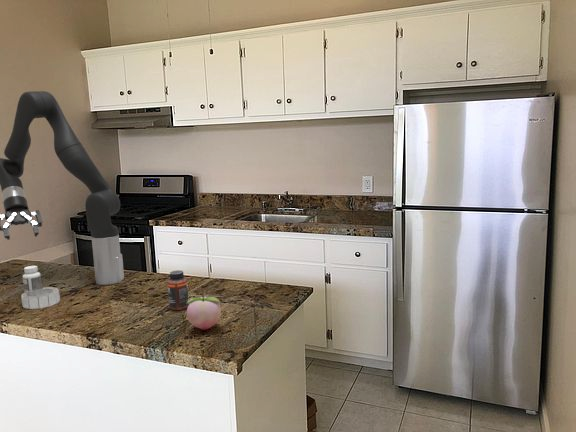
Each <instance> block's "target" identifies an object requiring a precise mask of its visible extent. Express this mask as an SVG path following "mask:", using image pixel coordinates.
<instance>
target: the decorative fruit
mask: <svg viewBox="0 0 576 432" xmlns="http://www.w3.org/2000/svg"><path fill="white" fill-rule="evenodd" d="M187 303H189V306H188V307H187V308H186V318H187V321H188V322H189V323H190V324H191V325H192V326H193V327H196V328H198V329H200V330H208V329H210V328H212V327H213V326H215V325H216V324H217V323H218V322H220V319H221V316H222V309H221V305H220V304H221V303H222V302H221V301H220V300H219V298H217V297H215V296H204V293H202V296H200V297H199V296H198V297H196V296H195V297H193V298H190V299H189V301H188V302H187ZM187 303H186V304H187Z"/></svg>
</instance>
